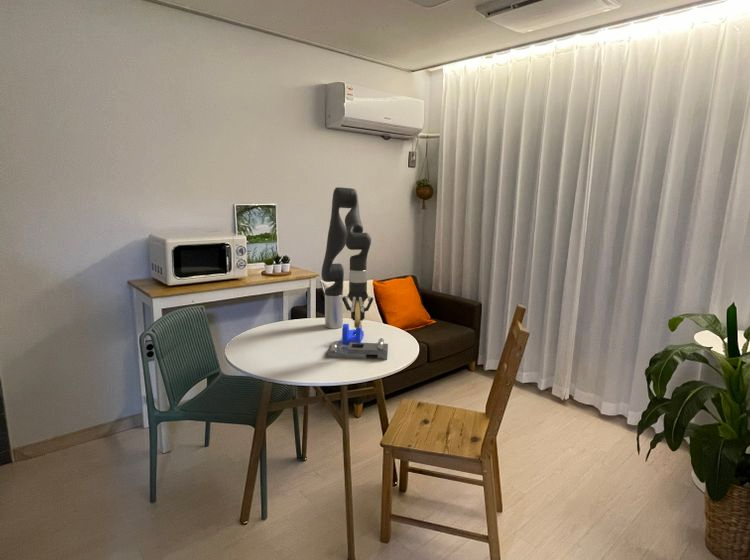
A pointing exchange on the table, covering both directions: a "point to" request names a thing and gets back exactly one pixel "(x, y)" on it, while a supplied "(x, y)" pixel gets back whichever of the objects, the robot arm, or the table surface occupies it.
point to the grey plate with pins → (358, 350)
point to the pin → (357, 314)
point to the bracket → (351, 335)
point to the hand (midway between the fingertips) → (357, 319)
